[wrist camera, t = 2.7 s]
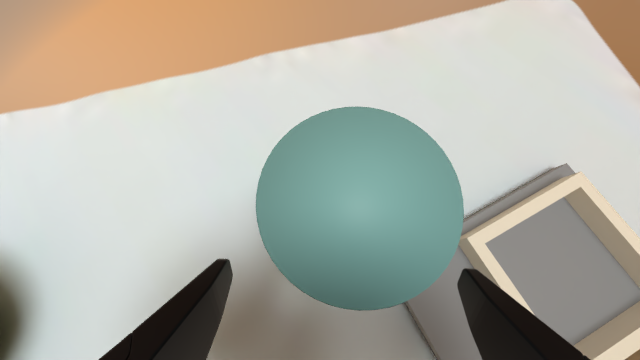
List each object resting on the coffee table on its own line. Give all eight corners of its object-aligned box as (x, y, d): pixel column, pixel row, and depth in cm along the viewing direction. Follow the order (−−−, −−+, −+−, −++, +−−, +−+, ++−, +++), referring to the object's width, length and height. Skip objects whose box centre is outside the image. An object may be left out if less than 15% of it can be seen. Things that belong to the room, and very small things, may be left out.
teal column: (324, 282, 19) (314, 357, 5) (294, 222, 20) (225, 158, 7) (382, 249, 19) (508, 240, 6) (349, 193, 21) (390, 78, 7)
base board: (542, 543, 14) (625, 655, 10) (383, 265, 19) (399, 268, 15) (741, 391, 16) (879, 436, 12) (553, 168, 21) (608, 147, 17)
